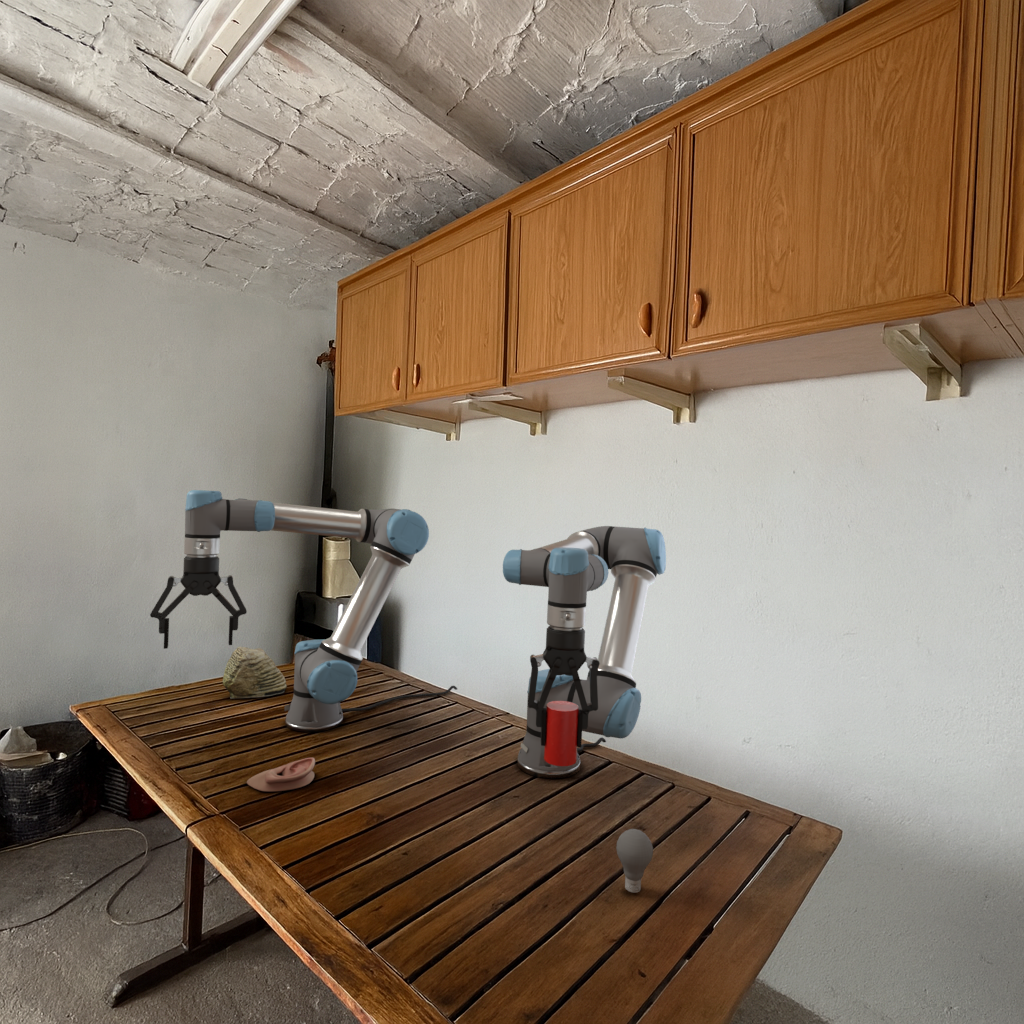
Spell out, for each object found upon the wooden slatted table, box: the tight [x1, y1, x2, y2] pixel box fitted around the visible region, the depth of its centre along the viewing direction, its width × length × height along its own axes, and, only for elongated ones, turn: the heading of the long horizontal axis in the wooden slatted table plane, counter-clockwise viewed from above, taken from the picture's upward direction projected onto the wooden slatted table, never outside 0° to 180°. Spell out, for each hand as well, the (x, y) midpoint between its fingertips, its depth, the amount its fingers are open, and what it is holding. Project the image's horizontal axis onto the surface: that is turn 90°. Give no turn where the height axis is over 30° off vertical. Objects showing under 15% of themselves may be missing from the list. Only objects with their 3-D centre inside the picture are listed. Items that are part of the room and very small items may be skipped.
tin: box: [544, 701, 579, 766], centre depth 124 cm, size 6×6×11 cm
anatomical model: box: [246, 757, 316, 792], centre depth 140 cm, size 13×4×12 cm
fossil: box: [222, 646, 288, 699], centre depth 198 cm, size 9×18×15 cm, turn 132°
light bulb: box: [615, 828, 654, 894], centre depth 106 cm, size 6×6×10 cm
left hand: (198, 645), depth 149 cm, fingers open, 13 cm apart
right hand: (560, 743), depth 124 cm, fingers closed on tin, 6 cm apart
